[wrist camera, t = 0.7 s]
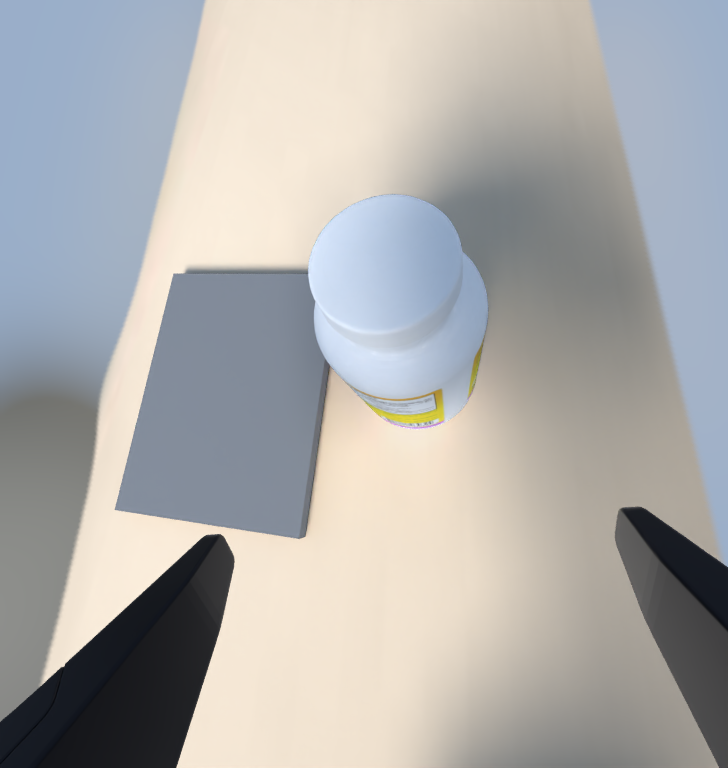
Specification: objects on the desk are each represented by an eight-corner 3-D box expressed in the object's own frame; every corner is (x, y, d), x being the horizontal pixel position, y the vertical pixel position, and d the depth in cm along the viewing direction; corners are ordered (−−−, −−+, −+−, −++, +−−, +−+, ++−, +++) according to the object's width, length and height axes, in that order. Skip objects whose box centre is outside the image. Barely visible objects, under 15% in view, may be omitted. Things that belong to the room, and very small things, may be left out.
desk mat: (305, 536, 23) (298, 538, 22) (127, 509, 26) (114, 509, 25) (341, 281, 27) (337, 273, 26) (182, 280, 29) (173, 273, 28)
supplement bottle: (425, 303, 25) (403, 127, 13) (499, 382, 23) (555, 260, 11) (341, 370, 25) (239, 256, 13) (407, 455, 23) (359, 414, 11)
